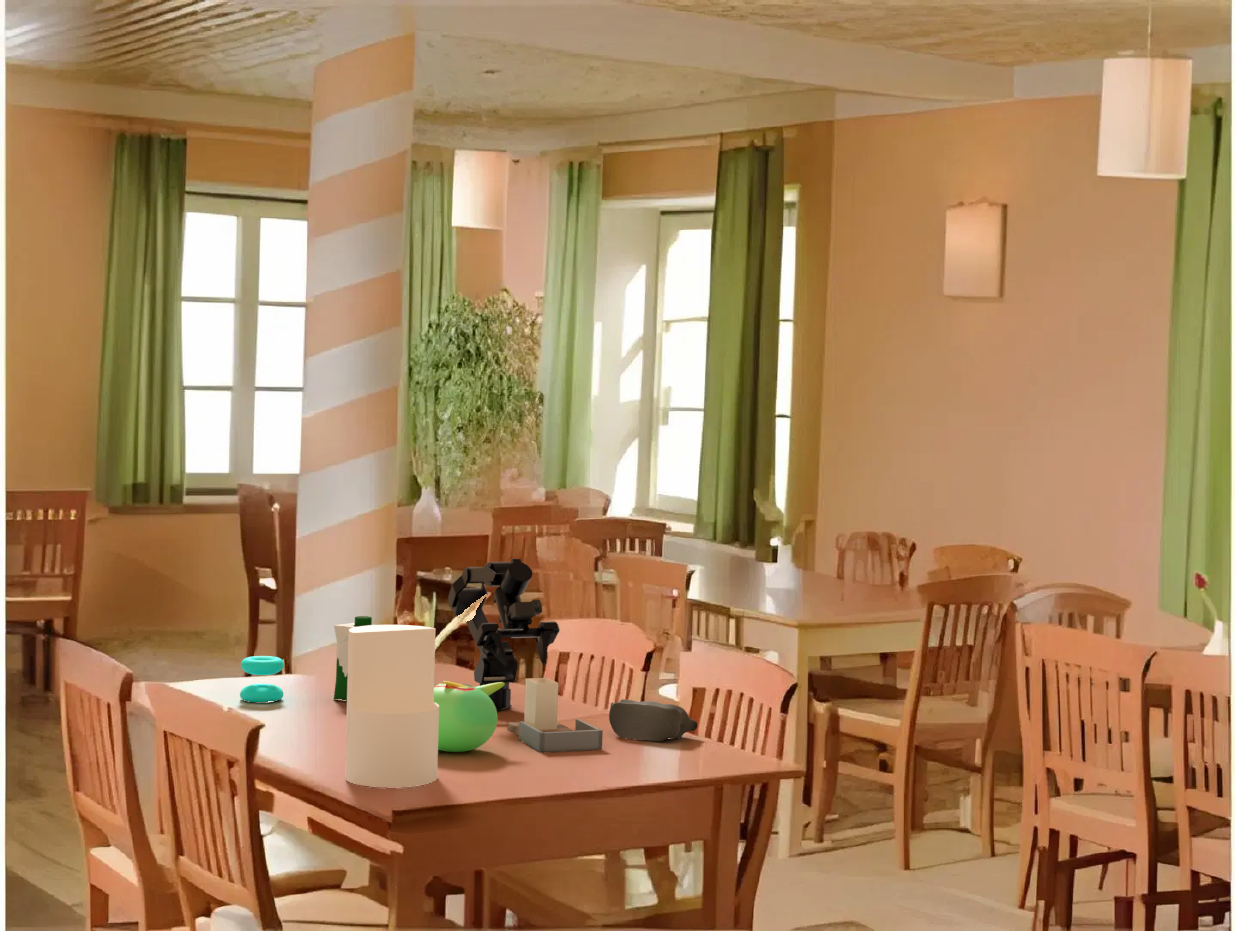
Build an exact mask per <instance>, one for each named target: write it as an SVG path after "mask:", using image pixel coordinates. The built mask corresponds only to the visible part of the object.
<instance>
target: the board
mask: <svg viewBox="0 0 1235 931" xmlns="http://www.w3.org/2000/svg"><path fill="white" fill-rule="evenodd" d="M519 723H520V721H516V722H513V721H512V722H507V726H506V727H507V728H506V730H507V731H508V730H509V732H510V733H511V734H514V735H515V736H517V735H519ZM540 731H542V732H560V731H574V730H573V729H571V728H569V727H567V726H566V725H564V724H562V723H560V722H558V721H557V729H547V730H540Z"/></svg>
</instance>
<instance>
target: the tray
mask: <svg viewBox="0 0 1235 931" xmlns="http://www.w3.org/2000/svg"><path fill="white" fill-rule="evenodd" d="M519 722H520V723H519V736H518V741H520V742H521V741H523V742H524V743H523V742H522V743H523V744H525V743H526V744H527V746H528V745H529V746H528V747H530V748H532V749H533V748H534V750H535V749H536V750H535V751H537V752H539V753H541V754H542V753H544V752H545V753H561V752H563V751H564V752H579V751H598V749H602V750H603V732H604V731H603V730H602V729H600V728H599V727H596V726H594V725H593V724H590V723H589V722H586V721H584V720H582V719H580V718H576V719H575V728H574V730H573V731H560V732H542V731H540V730H538V729H536V728H534V727H533V726H531V725H529V724H527V723H525V722H524V720H520V721H519ZM526 744H525V745H526ZM564 752H563V753H564ZM545 753H544V754H545Z"/></svg>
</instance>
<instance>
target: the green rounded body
mask: <svg viewBox="0 0 1235 931" xmlns="http://www.w3.org/2000/svg"><path fill="white" fill-rule="evenodd" d="M504 685H505V683H503V682H497V683H491V684H486V685H482V686H480V685H478V686H477V685H476V686H473V685H470V684H468V683H467V684H466V683H457V682H454V681H448V680H442V683H438V684H437V685H434V703H437V704H438V705H439V733H438V751H442V752H447V753H462V752H468V751H473V750H475V749H478V748H480V747H481V746H483V745H484V744H486V743H487V742H488V741H489V740H490V738H491V739H492V736H493V734H494V733H495V730H496V728H497V725H498V712H497V710H496V707H495V705H494V703H493V701H492V700H491V699H490V697H489V695H490V694H492V693H494V692H495V691H497V690H499V689H500V688H502V687H503V686H504Z"/></svg>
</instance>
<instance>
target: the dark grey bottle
mask: <svg viewBox="0 0 1235 931" xmlns="http://www.w3.org/2000/svg"><path fill="white" fill-rule="evenodd" d="M608 712H609V713H608V721H609V724H610V727H611V729H612V730H613V732H614V733H615V734H616V735H617V736H619V737H620V738H622V739H624V738H627V739H626V740H630V739H636V740H635V741H651V742H652V741H654V742H662V741H666V740H669V739H668V738H680V737H681V738H682V737H683V735H685V733H687V732H689V733H690V732H692V733H693V732H695V731H696V730H697V728H698V723H697V721H696V720H695V719H693V718H690V716H689V714H688V712H687V711H686V710H685V709H684V708H683V707H682V706H679V705H676V704H671V703H661V702H657V701H654V700H645V701H636V700H632V699H625V698H622V699H620V701H618V702H615V703H614V702H611V703H610V707H609V711H608ZM681 738H680V739H681Z"/></svg>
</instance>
